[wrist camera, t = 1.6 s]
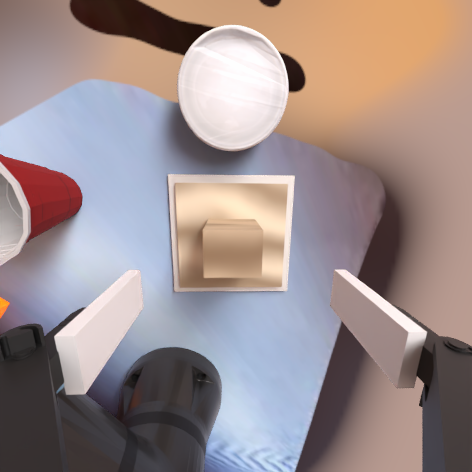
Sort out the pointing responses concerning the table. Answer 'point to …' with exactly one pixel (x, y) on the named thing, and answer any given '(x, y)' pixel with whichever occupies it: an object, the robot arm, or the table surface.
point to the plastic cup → (32, 203)
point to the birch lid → (231, 234)
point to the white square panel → (229, 179)
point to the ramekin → (232, 87)
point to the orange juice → (3, 306)
